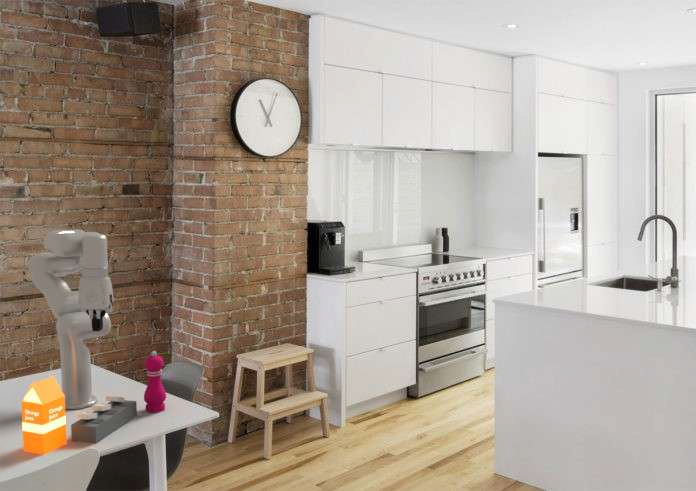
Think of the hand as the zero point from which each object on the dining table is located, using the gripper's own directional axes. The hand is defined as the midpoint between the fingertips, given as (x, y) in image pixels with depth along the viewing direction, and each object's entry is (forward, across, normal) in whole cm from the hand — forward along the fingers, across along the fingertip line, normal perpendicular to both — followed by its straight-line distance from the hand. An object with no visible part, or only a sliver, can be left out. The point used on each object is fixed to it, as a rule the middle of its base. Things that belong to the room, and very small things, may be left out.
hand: (97, 330), depth 224 cm
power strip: (+29, +6, -4) cm, 30 cm away
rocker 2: (+23, +5, -7) cm, 25 cm away
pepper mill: (+29, +13, +12) cm, 34 cm away
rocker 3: (+23, +5, +1) cm, 24 cm away
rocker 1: (+23, +5, -15) cm, 28 cm away
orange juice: (+29, -3, -25) cm, 38 cm away
